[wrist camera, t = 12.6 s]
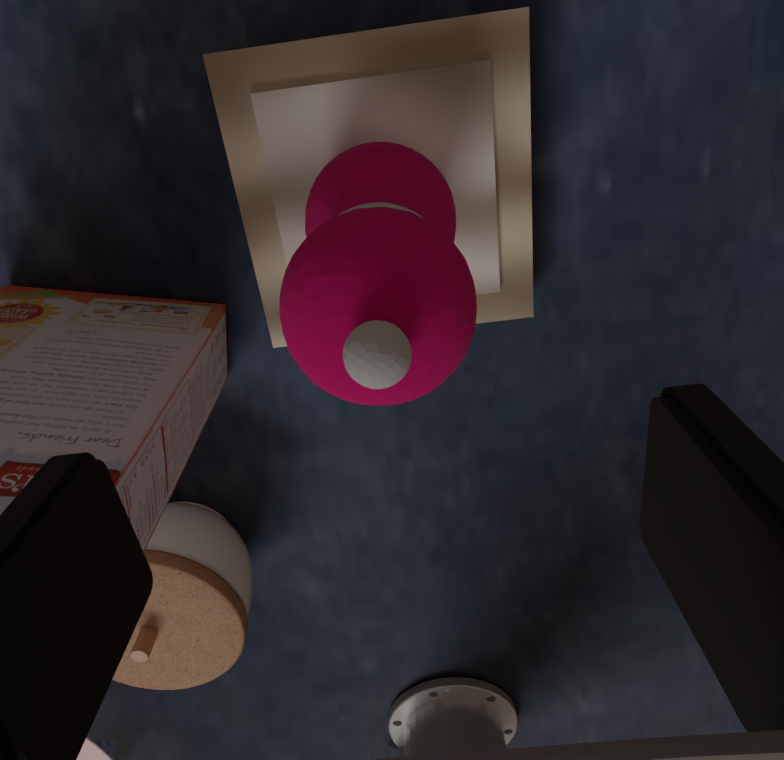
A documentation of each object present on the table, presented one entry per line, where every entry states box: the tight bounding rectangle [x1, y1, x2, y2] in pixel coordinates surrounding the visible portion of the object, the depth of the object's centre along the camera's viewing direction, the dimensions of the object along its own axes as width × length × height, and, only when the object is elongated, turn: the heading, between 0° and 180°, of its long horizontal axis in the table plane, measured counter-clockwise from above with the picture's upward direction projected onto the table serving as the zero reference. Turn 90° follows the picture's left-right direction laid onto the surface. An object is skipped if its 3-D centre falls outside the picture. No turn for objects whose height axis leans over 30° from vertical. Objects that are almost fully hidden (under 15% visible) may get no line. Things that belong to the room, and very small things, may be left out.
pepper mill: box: [279, 142, 477, 406], centre depth 23 cm, size 7×7×20 cm
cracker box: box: [0, 285, 228, 552], centre depth 30 cm, size 14×6×21 cm, turn 84°
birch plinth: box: [202, 7, 534, 348], centre depth 34 cm, size 16×16×3 cm
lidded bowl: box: [112, 501, 253, 690], centre depth 43 cm, size 13×13×11 cm
